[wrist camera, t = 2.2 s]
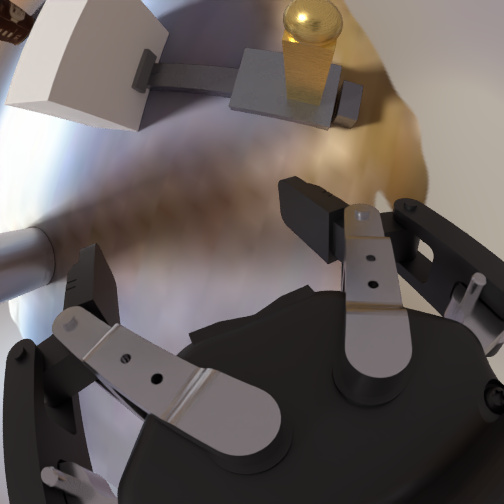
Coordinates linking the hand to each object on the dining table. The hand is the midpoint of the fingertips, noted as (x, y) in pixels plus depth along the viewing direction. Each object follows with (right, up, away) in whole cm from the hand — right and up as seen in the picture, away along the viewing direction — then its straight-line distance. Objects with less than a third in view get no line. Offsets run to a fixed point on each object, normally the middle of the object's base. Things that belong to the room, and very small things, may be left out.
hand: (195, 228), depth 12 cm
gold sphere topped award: (+6, +16, +17) cm, 24 cm away
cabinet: (-13, +21, +19) cm, 31 cm away
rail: (+1, +18, +18) cm, 25 cm away
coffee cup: (-41, +41, +20) cm, 61 cm away
